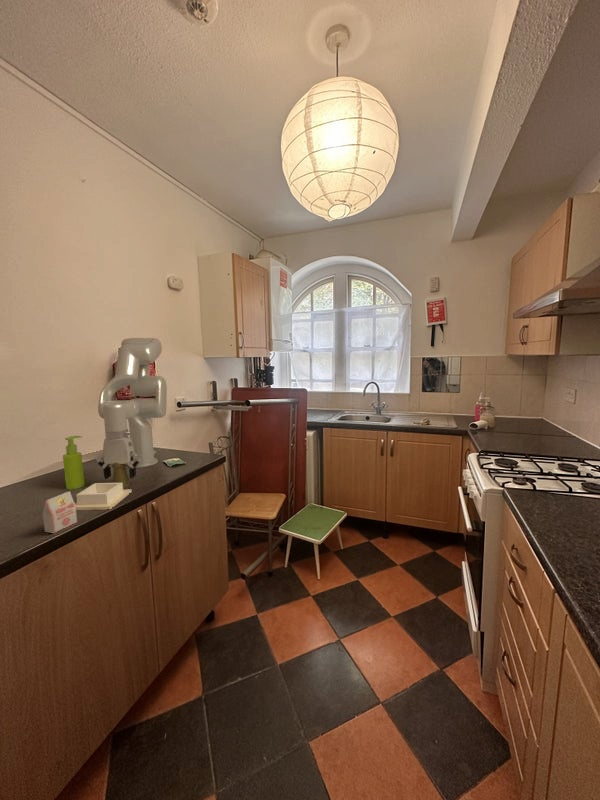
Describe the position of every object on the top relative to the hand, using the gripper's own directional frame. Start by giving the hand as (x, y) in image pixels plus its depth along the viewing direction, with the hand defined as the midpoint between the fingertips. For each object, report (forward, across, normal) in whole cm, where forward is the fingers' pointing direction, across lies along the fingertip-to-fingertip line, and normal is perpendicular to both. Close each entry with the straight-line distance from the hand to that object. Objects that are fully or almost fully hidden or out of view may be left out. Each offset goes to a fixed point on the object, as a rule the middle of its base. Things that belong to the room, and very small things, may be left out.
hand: (120, 477), depth 123 cm
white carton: (+4, +1, +31) cm, 31 cm away
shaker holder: (+4, 0, +13) cm, 13 cm away
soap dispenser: (+4, +18, -1) cm, 18 cm away
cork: (+4, 0, 0) cm, 4 cm away
